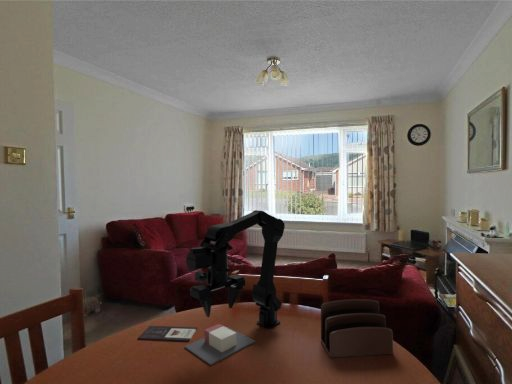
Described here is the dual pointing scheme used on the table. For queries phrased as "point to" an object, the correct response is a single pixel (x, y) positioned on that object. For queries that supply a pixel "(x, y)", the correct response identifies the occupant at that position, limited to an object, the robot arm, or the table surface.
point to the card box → (220, 337)
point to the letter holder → (354, 328)
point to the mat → (214, 355)
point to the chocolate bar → (168, 333)
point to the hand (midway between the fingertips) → (219, 312)
